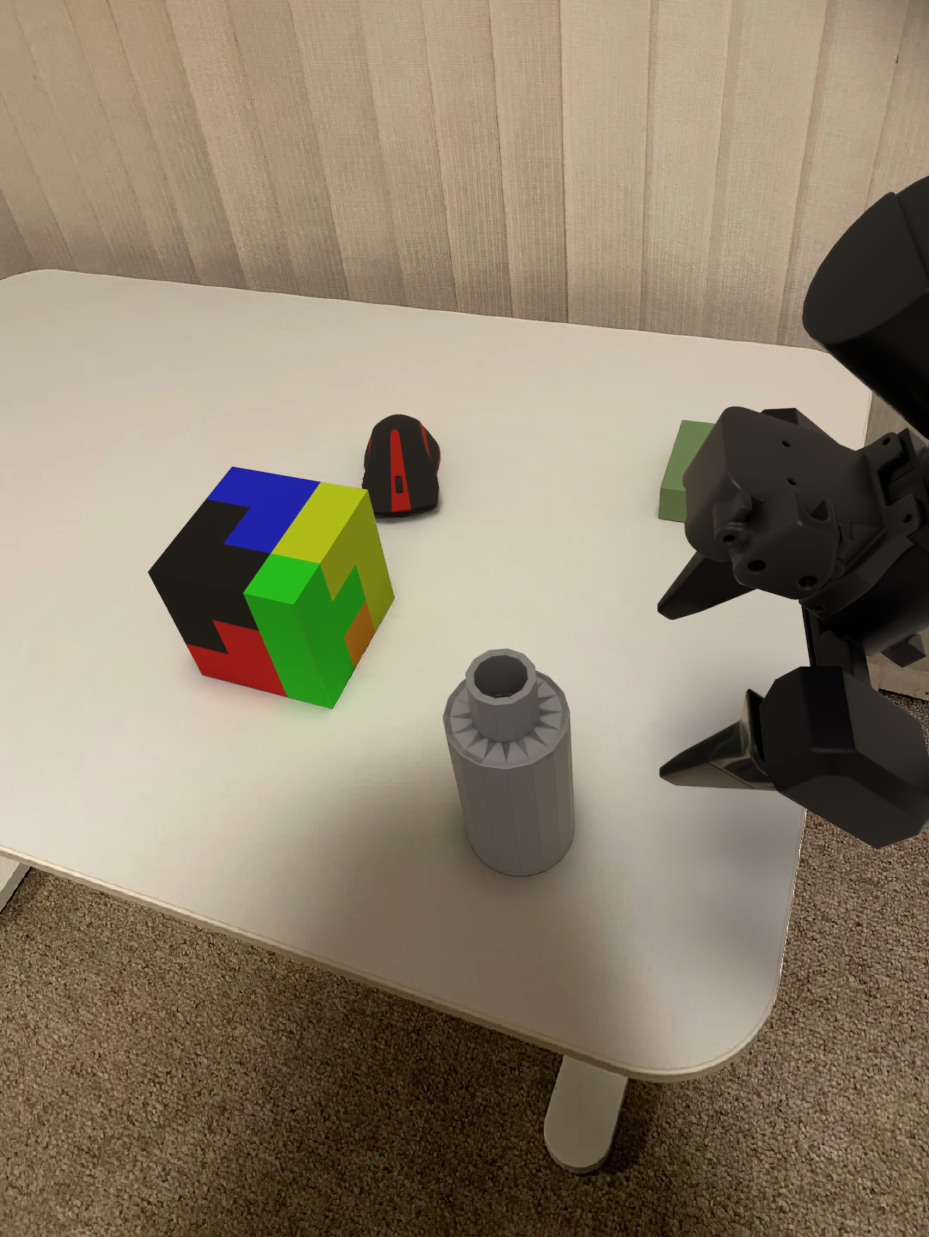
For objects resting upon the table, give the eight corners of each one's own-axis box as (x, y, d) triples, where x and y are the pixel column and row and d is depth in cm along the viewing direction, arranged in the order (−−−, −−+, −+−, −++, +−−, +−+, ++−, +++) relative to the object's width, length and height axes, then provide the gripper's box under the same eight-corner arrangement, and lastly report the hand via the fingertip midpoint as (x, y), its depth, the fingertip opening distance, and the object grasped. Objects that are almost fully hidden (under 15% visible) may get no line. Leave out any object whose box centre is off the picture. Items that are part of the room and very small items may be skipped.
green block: (771, 535, 65) (777, 503, 63) (658, 518, 67) (660, 487, 65) (785, 464, 70) (791, 432, 68) (679, 450, 72) (681, 419, 70)
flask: (595, 837, 51) (594, 686, 41) (506, 896, 50) (481, 754, 39) (533, 763, 55) (517, 606, 44) (448, 816, 53) (411, 666, 43)
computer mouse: (363, 528, 70) (352, 488, 67) (364, 440, 78) (355, 401, 75) (445, 518, 70) (438, 478, 67) (438, 431, 77) (432, 390, 74)
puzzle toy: (272, 571, 68) (231, 466, 61) (394, 597, 65) (367, 489, 58) (201, 674, 62) (147, 572, 55) (332, 708, 59) (293, 604, 52)
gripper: (811, 220, 34) (542, 463, 45) (901, 585, 22) (504, 803, 33) (985, 386, 39) (703, 573, 49) (1141, 769, 27) (723, 910, 37)
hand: (664, 689), depth 42 cm, fingers open, 9 cm apart
